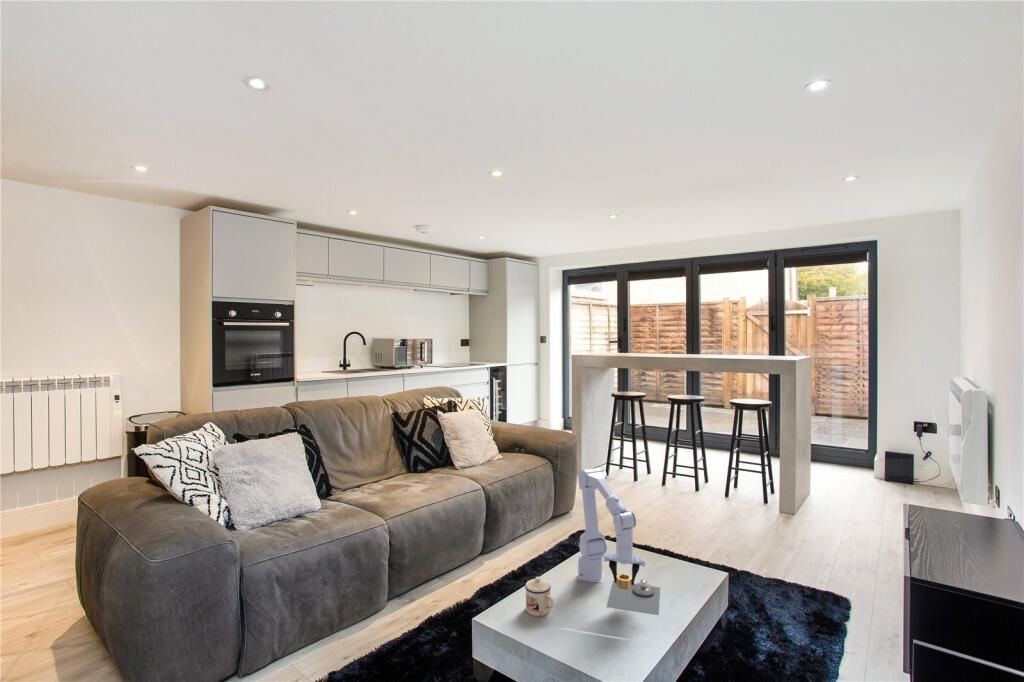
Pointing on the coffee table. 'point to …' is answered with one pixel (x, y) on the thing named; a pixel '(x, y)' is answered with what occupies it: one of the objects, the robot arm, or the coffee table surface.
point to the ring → (624, 581)
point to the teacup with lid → (538, 597)
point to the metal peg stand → (643, 589)
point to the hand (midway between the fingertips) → (624, 582)
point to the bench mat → (633, 600)
